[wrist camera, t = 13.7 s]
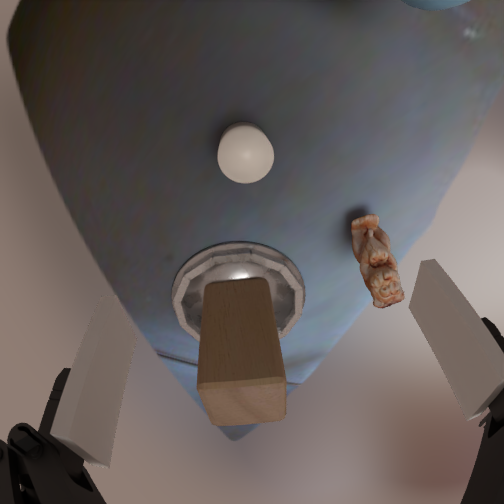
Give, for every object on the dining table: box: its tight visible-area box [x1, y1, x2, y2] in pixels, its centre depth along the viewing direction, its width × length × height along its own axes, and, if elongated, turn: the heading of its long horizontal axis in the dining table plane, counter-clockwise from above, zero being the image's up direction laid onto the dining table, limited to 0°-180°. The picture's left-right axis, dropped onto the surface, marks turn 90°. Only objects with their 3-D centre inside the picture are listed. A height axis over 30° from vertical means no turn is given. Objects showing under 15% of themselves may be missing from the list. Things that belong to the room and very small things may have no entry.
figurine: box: [351, 214, 404, 308], centre depth 39 cm, size 6×8×15 cm
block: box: [197, 278, 286, 426], centre depth 41 cm, size 10×10×20 cm
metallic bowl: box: [172, 241, 305, 342], centre depth 50 cm, size 22×22×2 cm
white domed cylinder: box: [218, 122, 274, 183], centre depth 35 cm, size 6×6×7 cm
